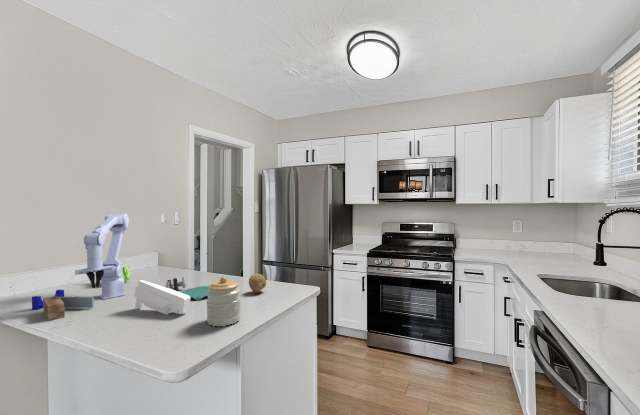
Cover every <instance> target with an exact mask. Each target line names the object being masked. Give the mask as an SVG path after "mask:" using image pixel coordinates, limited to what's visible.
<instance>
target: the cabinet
mask: <svg viewBox="0 0 640 415" xmlns="http://www.w3.org/2000/svg"><path fill="white" fill-rule="evenodd" d="M54 296H55V295H54ZM42 301H43V308H42V310H43V314H44V316H45V317H46V319H47V321H48V322H51V321H55V320H59V319H63V318H65V315H66V314H65V308H64V302H63V301H62V300H61V299H60V298H59V297H58V296H55V297H53V296H51V297H46V298H45V297H44V298H42Z"/></svg>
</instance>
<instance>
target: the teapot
mask: <svg viewBox="0 0 640 415" xmlns="http://www.w3.org/2000/svg"><path fill="white" fill-rule="evenodd" d="M122 265H123V267H122V270H123V272H122V275H121V277H122V278H123V279H124V284H126V283H128V280H130V279H131V271H130V269H129V267H128V265H127V264H126V263H125V264H122ZM121 277H120V278H121Z"/></svg>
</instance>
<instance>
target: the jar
mask: <svg viewBox="0 0 640 415" xmlns="http://www.w3.org/2000/svg"><path fill="white" fill-rule="evenodd" d="M208 286H209V287H208V288H209V291H207V292H206V295H207V296H208V297H207V300H206V301H205V303H206V321H207V322H206V323H207V325H208V326H210V325H212V326H211V327H215V326H222V327H227V326H226V325H229V326H231V325H230V324H232V325H234V324H233V323H235V324H236V322H237V321H238V322H240V321H241V316H242V313H241V296H240V293H241V289H240V287H239V283H238V282H236V281H234V280H232V279H227V277H226V276H221V277H220V278H219V280H217V281H213V282H212V283H211V284H210V285H209V284H208ZM238 322H237V323H238Z"/></svg>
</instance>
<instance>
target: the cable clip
mask: <svg viewBox="0 0 640 415" xmlns="http://www.w3.org/2000/svg"><path fill="white" fill-rule="evenodd" d="M55 296H58V297H65V289H56V290H55V294H54V296H52V297H55ZM31 310H32V311H39V310H43V298H42V296H41V295H34V296H31Z"/></svg>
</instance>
